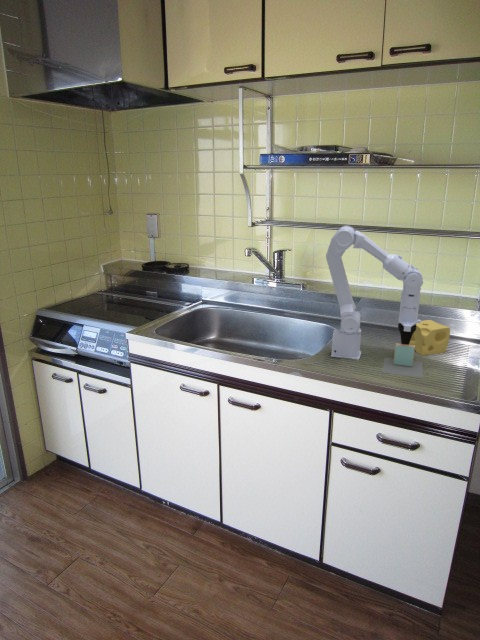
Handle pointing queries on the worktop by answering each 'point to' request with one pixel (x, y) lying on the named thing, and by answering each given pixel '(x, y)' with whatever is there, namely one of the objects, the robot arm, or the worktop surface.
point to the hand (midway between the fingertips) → (404, 345)
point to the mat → (403, 368)
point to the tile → (404, 354)
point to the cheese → (430, 338)
